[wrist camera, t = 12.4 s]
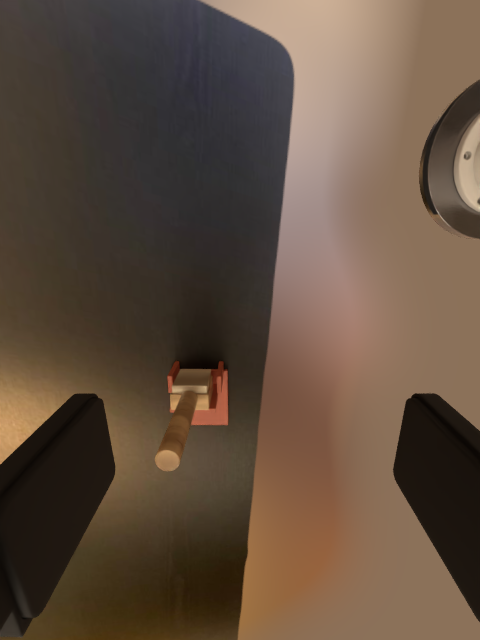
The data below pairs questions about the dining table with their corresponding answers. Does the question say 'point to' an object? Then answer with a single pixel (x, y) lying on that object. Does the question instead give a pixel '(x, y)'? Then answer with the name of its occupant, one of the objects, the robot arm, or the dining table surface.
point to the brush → (184, 413)
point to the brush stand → (218, 400)
